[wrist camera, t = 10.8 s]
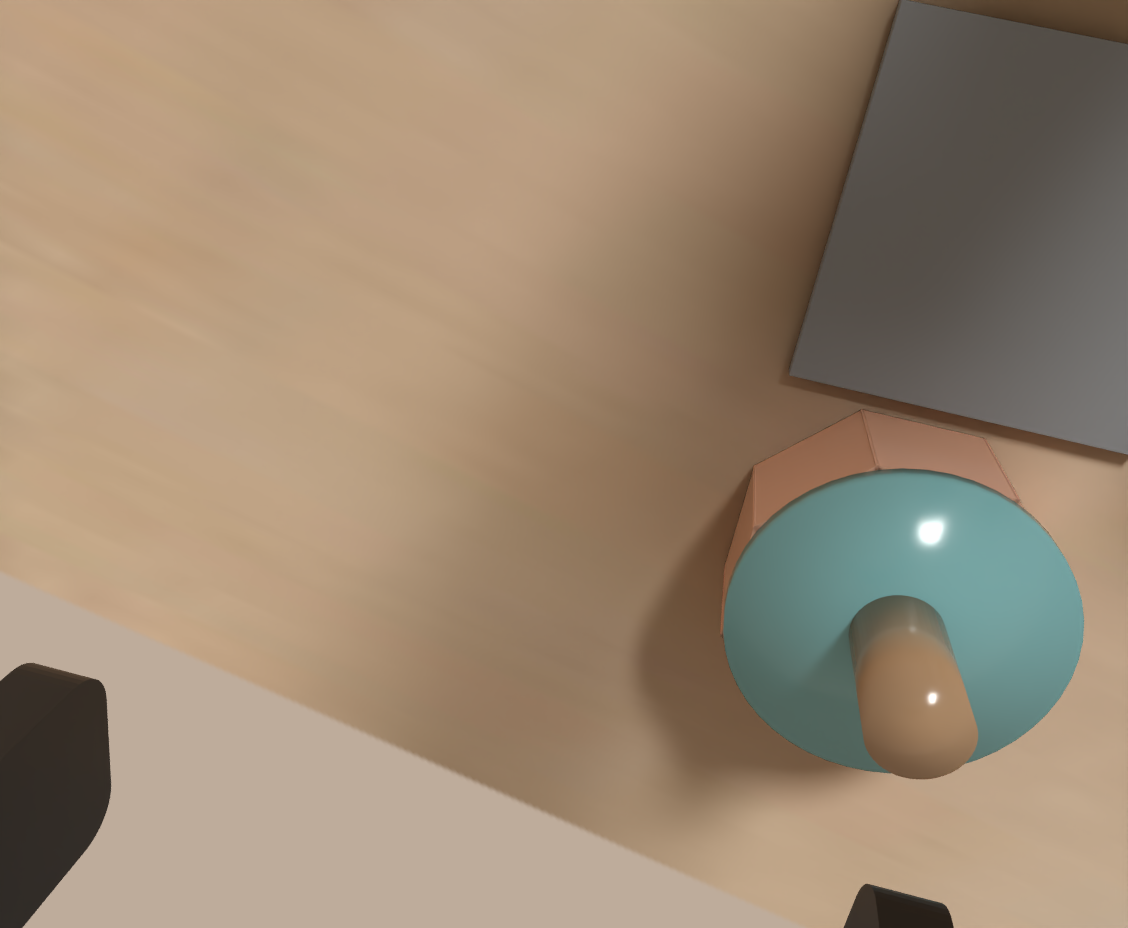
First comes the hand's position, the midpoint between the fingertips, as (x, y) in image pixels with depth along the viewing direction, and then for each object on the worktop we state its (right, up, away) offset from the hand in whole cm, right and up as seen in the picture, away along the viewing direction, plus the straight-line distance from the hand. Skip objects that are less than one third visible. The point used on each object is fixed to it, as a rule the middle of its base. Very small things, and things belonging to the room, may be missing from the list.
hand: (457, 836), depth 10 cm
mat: (+16, +11, +22) cm, 29 cm away
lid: (+12, -1, +22) cm, 25 cm away
